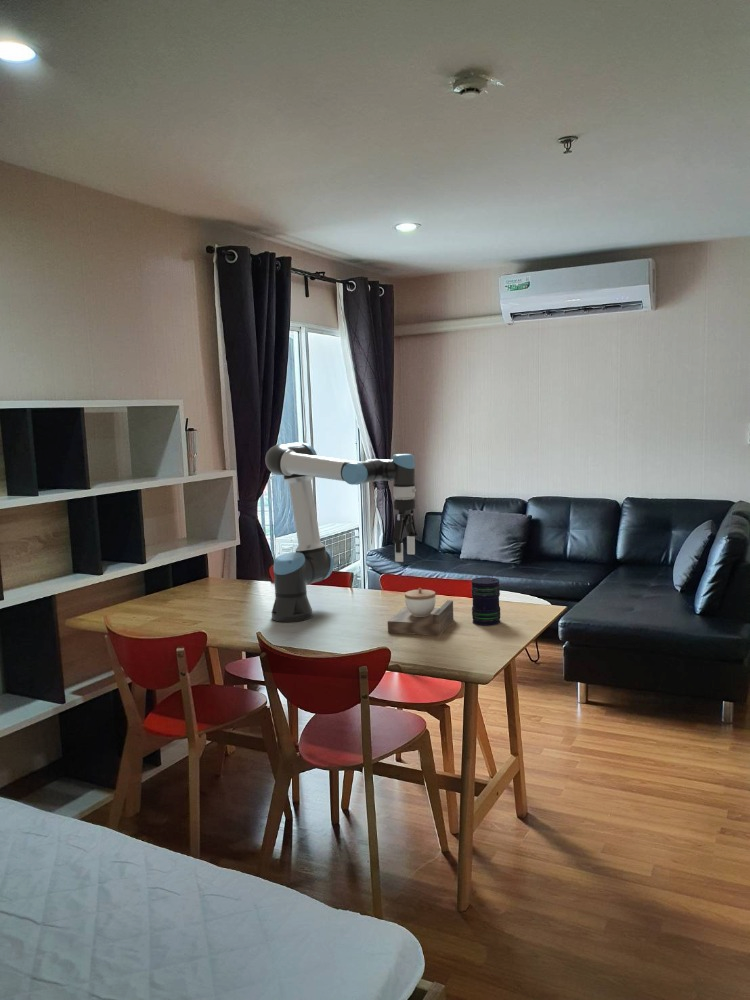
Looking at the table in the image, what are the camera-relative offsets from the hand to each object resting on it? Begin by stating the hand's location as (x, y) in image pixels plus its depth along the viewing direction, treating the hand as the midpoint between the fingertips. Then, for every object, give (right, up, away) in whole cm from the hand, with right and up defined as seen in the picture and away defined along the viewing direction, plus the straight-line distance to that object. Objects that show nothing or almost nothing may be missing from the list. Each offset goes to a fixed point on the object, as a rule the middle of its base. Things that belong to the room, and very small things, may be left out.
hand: (405, 557), depth 272 cm
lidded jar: (+5, -20, -5) cm, 21 cm away
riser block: (+6, -23, -4) cm, 24 cm away
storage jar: (+28, -23, -3) cm, 36 cm away
